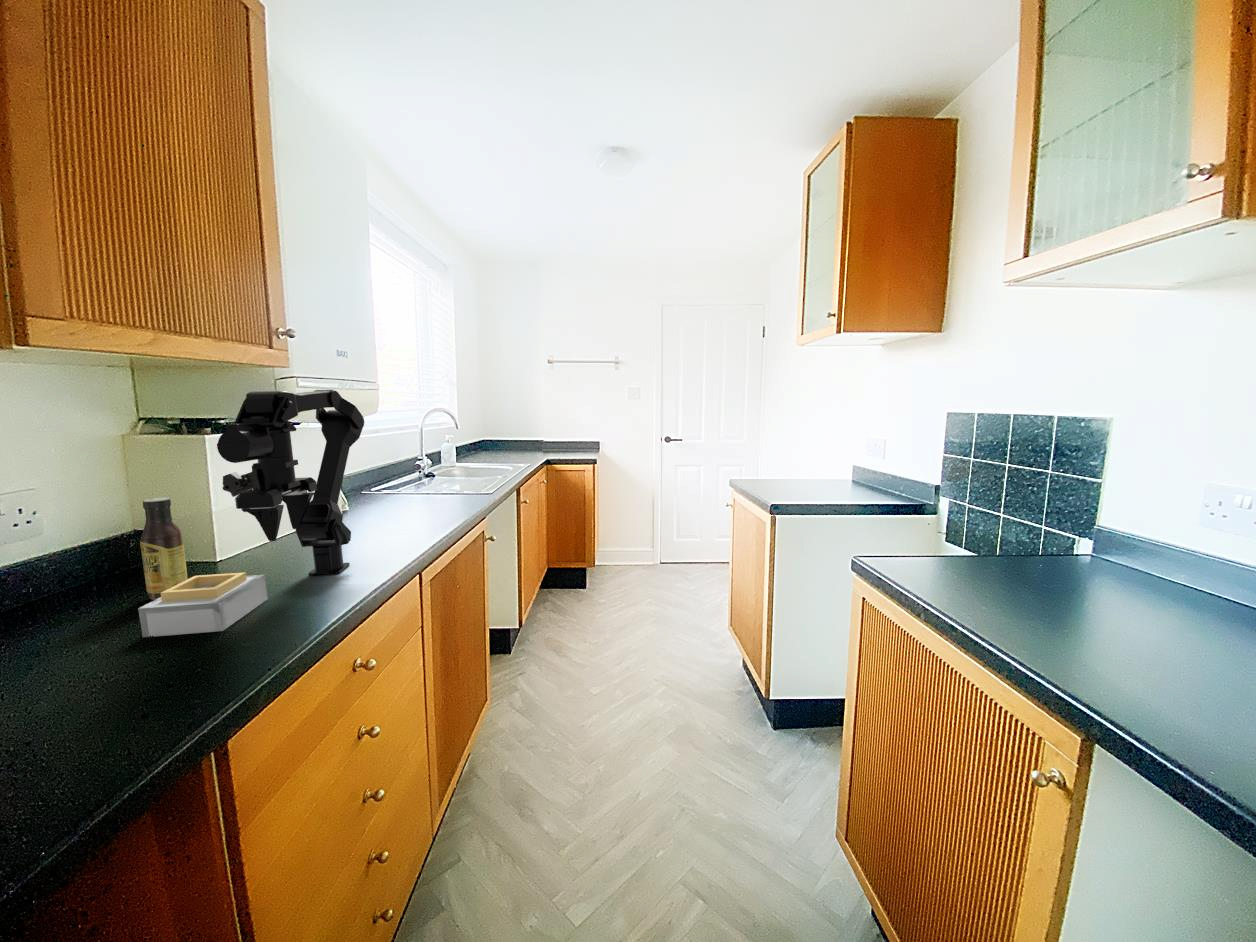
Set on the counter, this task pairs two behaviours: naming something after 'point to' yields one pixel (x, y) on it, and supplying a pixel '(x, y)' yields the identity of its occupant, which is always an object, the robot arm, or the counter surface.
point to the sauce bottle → (161, 548)
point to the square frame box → (203, 604)
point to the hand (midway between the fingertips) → (284, 534)
